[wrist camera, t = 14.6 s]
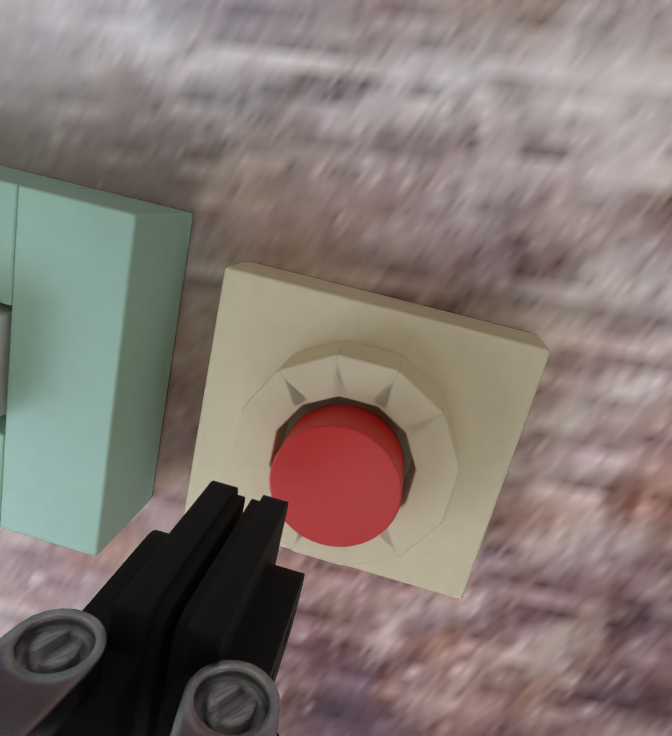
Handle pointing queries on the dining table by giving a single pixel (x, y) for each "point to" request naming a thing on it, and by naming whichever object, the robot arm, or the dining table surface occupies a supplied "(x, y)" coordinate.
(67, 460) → the green socket board
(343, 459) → the power button
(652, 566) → the dining table surface
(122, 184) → the dining table surface
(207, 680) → the robot arm
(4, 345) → the white block with knob
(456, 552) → the switch box
